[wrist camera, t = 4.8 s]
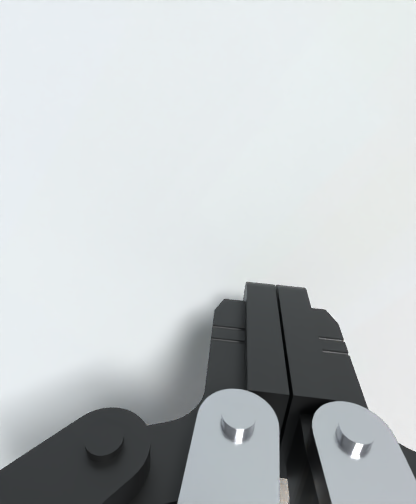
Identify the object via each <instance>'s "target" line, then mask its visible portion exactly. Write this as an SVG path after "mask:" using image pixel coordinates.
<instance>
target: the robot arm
mask: <svg viewBox="0 0 416 504" xmlns="http://www.w3.org/2000/svg"><path fill="white" fill-rule="evenodd" d="M343 340H344V339H343V336H342V333H341V330H340V327H339V325H338V323H337V322H336V321H335V320H334V319H333V318H332V316H331V315H330V314H329V313H328V312H327V311H326V310H324V309H315V308H311V305H310V302H309V298H308V294H307V290H306V288H302V287H292V286H283V285H276V286H275V285H272V284H263V283H253V282H246V285H245V291H244V298H243V301H239V300H230V299H224V300H223V301H222V302H221V303H220V305H219V306H218V307H217V308H216V309H215V311H214V319H213V328H212V336H211V344H210V353H209V361H208V370H207V378H206V386H205V392H204V396H203V398H202V400H201V402H200V403H199V405H198V406H197V407H196V408H195V409H194V410H193V411H191V412H190V413H189V414H187V415H186V416H184V417H182V418H179V419H177V420H174V421H170V422H165V423H160V424H154V425H149V426H146V424H145V423H144V421H143V420H142V419H141V418H140V417H139V416H137V415H136V414H135V413H133V412H131V411H128V410H125V409H121V408H103V409H99V410H95V411H93V412H90V413H88V414H86V415H84V416H82V417H81V418H79V419H78V420H76V421H75V422H73V423H71V424H70V425H68V426H67V427H65V428H64V429H62V430H61V431H59V432H58V433H56V434H55V435H53V436H52V437H50V438H49V439H47V440H45V441H44V442H42V443H41V444H39V445H38V446H36V447H35V448H33V449H32V450H30V451H29V452H27V453H26V454H24V455H23V456H21V457H19V458H18V459H16V460H15V461H13V462H12V463H10V464H9V465H7V466H6V467H4V468H3V469H1V470H0V504H280V478H286V479H288V488H289V502H288V504H416V452H415V451H412V450H410V449H408V448H406V447H404V446H403V445H401V444H399V443H398V442H397V440H396V437H395V436H394V434H393V432H392V431H391V429H390V428H389V427H388V425H387V424H386V423H385V422H384V421H383V420H382V419H381V418H380V417H378V416H377V415H376V414H374V413H373V412H371V411H370V410H368V407H367V404H366V402H365V399H364V396H363V393H362V390H361V387H360V384H359V382H358V379H357V376H356V373H355V370H354V367H353V364H352V362H351V359H350V356H348V350H347V347H346V345H345V342H343Z"/></svg>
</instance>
